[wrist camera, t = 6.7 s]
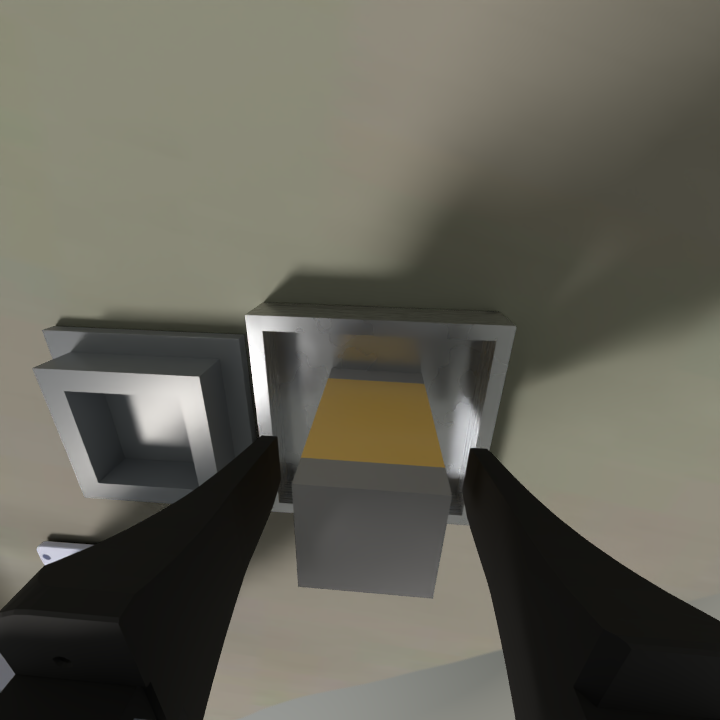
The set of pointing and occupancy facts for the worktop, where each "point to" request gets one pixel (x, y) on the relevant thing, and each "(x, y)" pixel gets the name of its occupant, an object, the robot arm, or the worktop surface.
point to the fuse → (371, 488)
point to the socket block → (147, 408)
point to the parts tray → (379, 353)
